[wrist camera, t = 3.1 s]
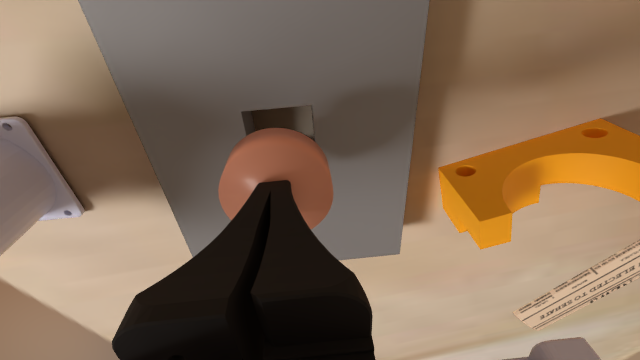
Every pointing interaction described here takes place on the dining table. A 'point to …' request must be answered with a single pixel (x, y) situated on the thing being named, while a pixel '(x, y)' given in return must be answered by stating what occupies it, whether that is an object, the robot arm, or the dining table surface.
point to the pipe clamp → (536, 176)
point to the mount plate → (272, 99)
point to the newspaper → (583, 289)
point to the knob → (278, 172)
